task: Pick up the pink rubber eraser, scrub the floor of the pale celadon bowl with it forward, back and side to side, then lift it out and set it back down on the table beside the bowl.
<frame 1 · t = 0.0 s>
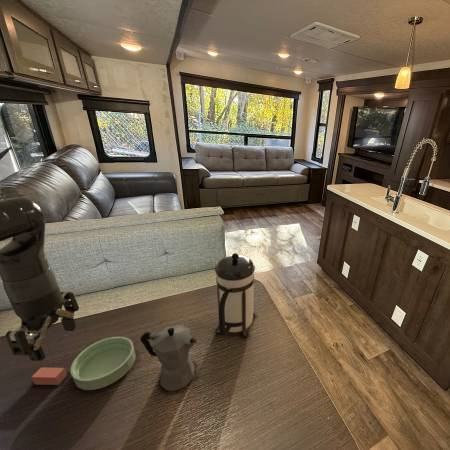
hand: (56, 343, 60), 16 cm above the table, tool pointing down, fingers open, 8 cm apart
coffee press: (236, 327, 90), on the table
coffeepot: (174, 375, 72), on the table
eraser: (51, 379, 68), on the table
bowl: (107, 367, 72), on the table
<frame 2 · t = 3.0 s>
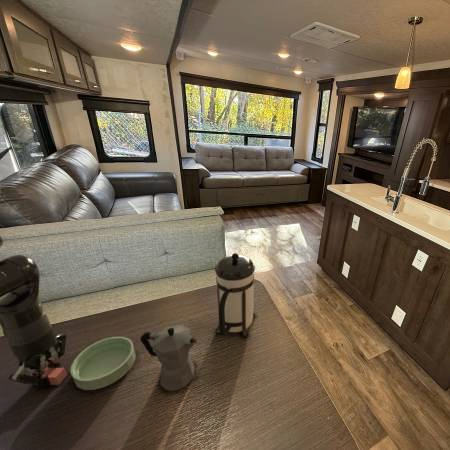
hand: (51, 379, 67), 0 cm above the table, tool pointing down, fingers closed on eraser, 2 cm apart
eraser: (51, 379, 68), on the table, touching gripper
everything else where it was.
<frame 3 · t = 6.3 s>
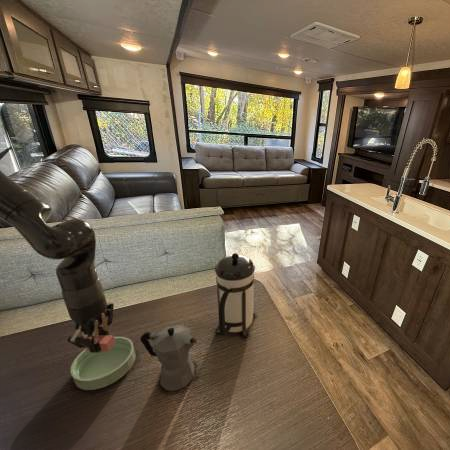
hand: (100, 346, 69), 9 cm above the table, tool pointing down, fingers closed on eraser, 2 cm apart
eraser: (101, 347, 69), point 8 cm above the table, touching gripper
everything else where it was.
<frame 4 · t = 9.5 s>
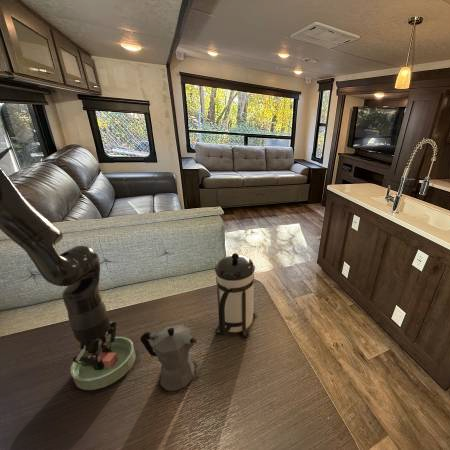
hand: (104, 363, 72), 1 cm above the table, tool pointing down, fingers closed on eraser, 2 cm apart
eraser: (104, 363, 72), point 1 cm above the table, touching gripper
everything else where it was.
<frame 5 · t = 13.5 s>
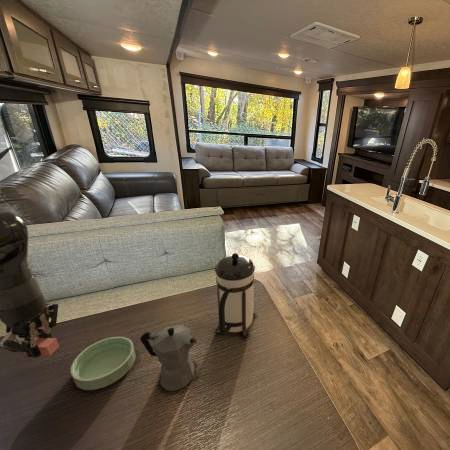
hand: (41, 350, 64), 11 cm above the table, tool pointing down, fingers closed on eraser, 2 cm apart
eraser: (42, 350, 64), point 11 cm above the table, touching gripper
everything else where it was.
when the fingers open (0 cm above the table, at t = 16.2 s): eraser stays where it is, on the table.
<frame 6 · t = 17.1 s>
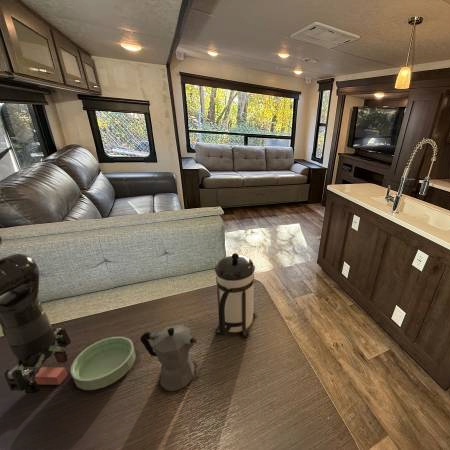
hand: (49, 375, 67), 2 cm above the table, tool pointing down, fingers open, 8 cm apart
eraser: (52, 379, 68), on the table
everything else where it was.
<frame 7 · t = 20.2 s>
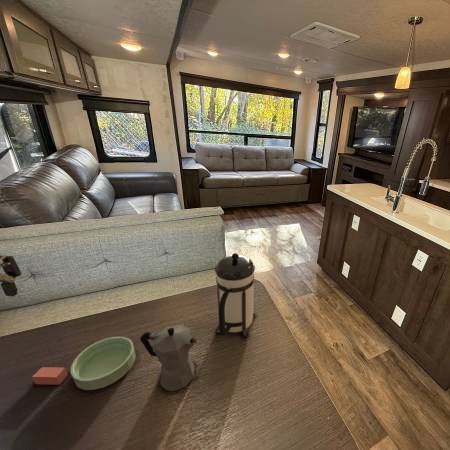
nothing on the table moved.
at the end: eraser inside the target area (0.1 cm from its centre), on the table; the gripper is holding nothing; bowl moved 0.0 cm from its start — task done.
